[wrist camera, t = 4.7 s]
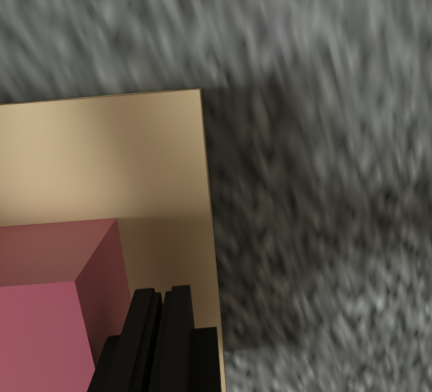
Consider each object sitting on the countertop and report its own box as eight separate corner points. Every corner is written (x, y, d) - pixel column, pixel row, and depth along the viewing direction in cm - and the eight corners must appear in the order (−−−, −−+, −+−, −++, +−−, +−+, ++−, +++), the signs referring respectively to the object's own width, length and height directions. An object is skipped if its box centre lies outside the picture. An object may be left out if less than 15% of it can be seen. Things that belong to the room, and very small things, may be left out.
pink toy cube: (116, 217, 12) (74, 281, 8) (140, 355, 14) (115, 458, 10) (-56, 231, 12) (-178, 300, 8) (-8, 366, 14) (-89, 474, 10)
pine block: (201, 87, 14) (199, 89, 11) (224, 353, 19) (228, 420, 15) (-177, 118, 14) (-313, 130, 11) (-66, 376, 19) (-134, 450, 15)
